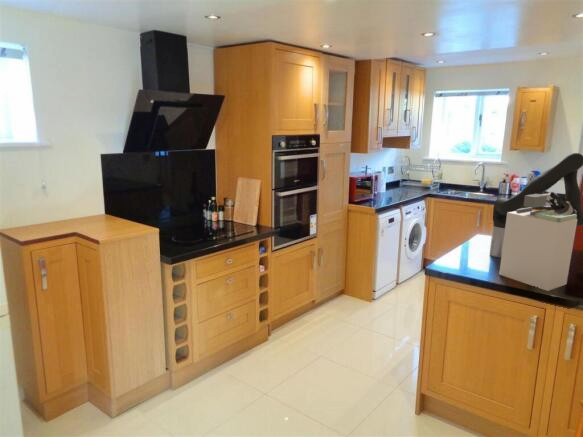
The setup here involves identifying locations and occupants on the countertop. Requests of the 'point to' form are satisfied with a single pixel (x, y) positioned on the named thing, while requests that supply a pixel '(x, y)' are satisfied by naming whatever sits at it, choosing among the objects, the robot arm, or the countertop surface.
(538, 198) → the light grey rectangular prism
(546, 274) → the cabinet
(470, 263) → the countertop surface
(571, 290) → the countertop surface
